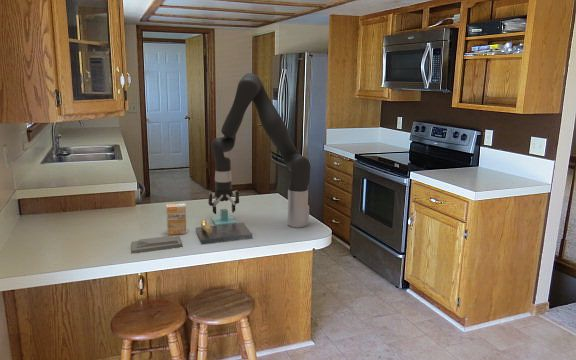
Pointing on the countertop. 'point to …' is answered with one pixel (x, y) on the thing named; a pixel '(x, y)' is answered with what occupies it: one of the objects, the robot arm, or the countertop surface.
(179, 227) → the supplement box
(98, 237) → the countertop surface
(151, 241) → the soap mold
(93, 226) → the countertop surface
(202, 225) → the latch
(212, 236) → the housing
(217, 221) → the cover
